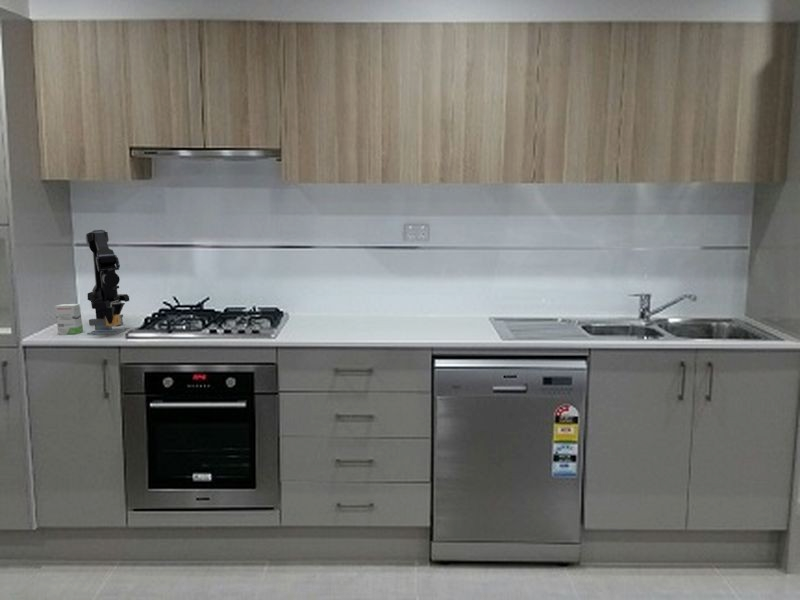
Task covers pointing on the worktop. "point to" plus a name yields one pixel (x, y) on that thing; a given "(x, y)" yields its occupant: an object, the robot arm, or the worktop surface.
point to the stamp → (105, 321)
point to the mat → (105, 331)
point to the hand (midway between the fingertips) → (113, 322)
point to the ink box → (69, 319)
